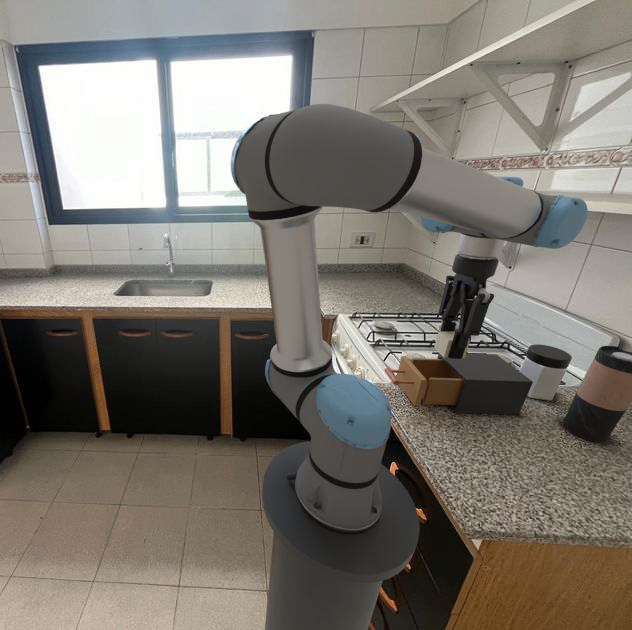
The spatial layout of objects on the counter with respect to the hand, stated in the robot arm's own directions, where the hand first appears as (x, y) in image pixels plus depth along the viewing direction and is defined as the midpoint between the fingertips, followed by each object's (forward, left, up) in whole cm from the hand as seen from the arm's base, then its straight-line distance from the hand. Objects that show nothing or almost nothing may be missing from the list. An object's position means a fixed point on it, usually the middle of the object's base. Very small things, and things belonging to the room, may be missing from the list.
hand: (448, 351), depth 82 cm
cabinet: (+11, +3, -15) cm, 19 cm away
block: (0, 0, 0) cm, 0 cm away
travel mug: (+29, -8, -15) cm, 34 cm away
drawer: (-2, +3, -14) cm, 14 cm away
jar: (+29, +7, -15) cm, 33 cm away
